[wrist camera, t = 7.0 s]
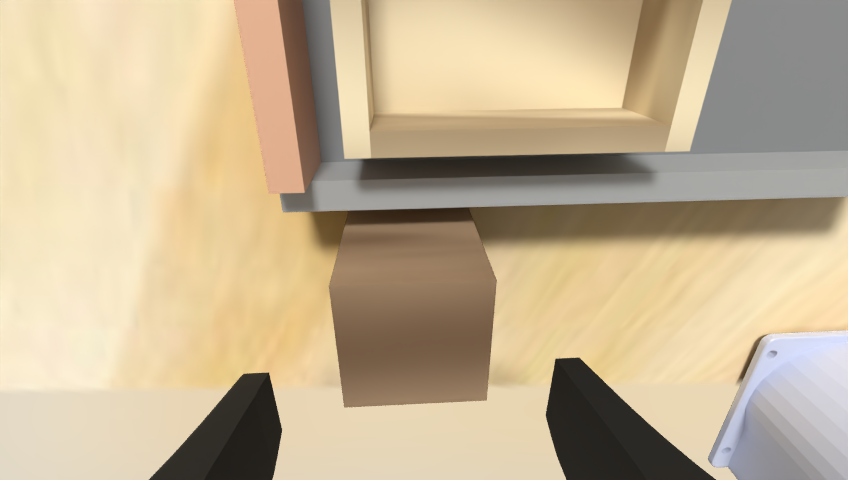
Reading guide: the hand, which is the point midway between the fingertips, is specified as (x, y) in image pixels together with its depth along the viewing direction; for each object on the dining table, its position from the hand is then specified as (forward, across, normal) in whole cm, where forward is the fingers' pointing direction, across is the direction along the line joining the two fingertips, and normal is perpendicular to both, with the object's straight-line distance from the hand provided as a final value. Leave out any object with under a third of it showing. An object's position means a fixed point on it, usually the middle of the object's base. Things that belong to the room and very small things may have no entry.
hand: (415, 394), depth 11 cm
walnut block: (+8, 0, 0) cm, 8 cm away
